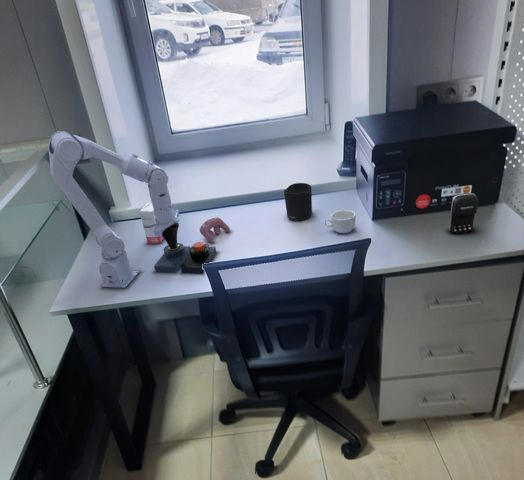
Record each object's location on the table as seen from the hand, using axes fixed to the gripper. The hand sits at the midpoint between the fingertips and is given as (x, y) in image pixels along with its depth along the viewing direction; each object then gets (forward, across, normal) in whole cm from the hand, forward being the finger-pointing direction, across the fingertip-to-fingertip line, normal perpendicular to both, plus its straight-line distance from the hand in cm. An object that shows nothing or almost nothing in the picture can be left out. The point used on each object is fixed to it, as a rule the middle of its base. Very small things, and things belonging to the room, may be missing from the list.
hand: (173, 246), depth 159 cm
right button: (+1, 0, -9) cm, 9 cm away
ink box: (+5, +14, +13) cm, 20 cm away
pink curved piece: (+5, +16, -8) cm, 18 cm away
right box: (+4, -2, -9) cm, 10 cm away
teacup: (+5, +21, -50) cm, 54 cm away
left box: (+4, -2, 0) cm, 5 cm away
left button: (+2, 0, 0) cm, 2 cm away
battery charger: (+5, +21, -87) cm, 90 cm away
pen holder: (+5, +32, -34) cm, 47 cm away
